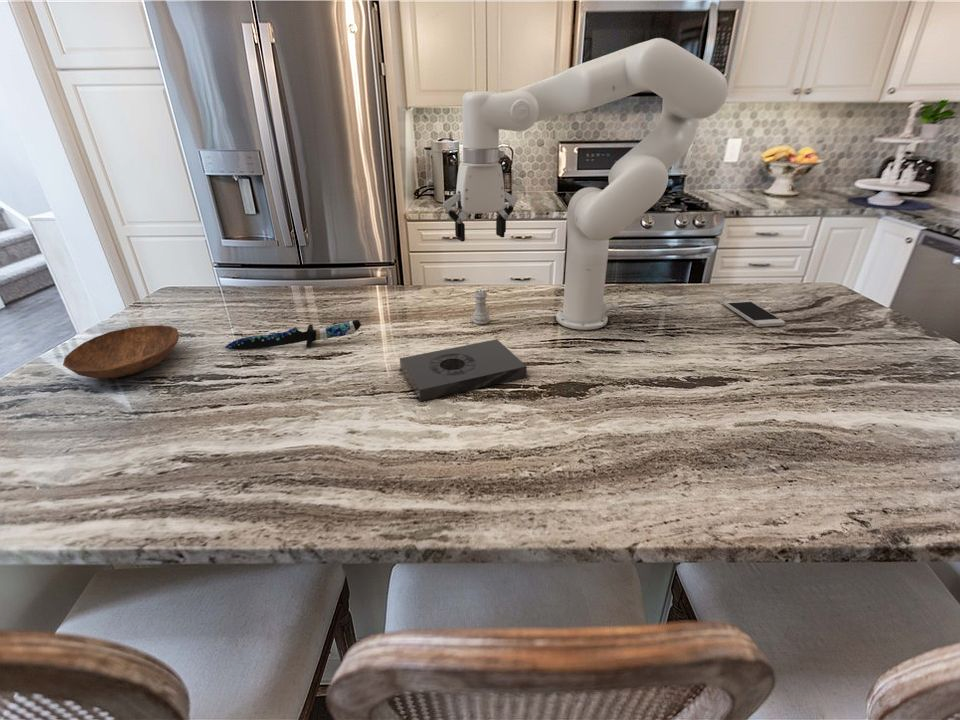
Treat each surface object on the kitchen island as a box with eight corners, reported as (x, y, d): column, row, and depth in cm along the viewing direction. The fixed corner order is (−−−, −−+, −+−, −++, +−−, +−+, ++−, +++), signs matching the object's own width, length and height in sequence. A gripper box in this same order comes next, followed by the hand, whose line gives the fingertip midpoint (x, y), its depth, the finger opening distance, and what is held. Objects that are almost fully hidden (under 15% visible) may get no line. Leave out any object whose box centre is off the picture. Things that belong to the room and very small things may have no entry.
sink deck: (497, 349, 110) (497, 339, 109) (526, 377, 99) (526, 366, 98) (400, 368, 103) (399, 358, 102) (420, 401, 91) (419, 390, 90)
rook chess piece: (488, 325, 122) (488, 294, 119) (470, 324, 123) (469, 293, 119) (491, 318, 126) (491, 288, 122) (474, 317, 127) (473, 287, 123)
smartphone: (757, 327, 119) (758, 323, 118) (722, 304, 132) (723, 300, 132) (785, 325, 119) (786, 321, 119) (747, 302, 133) (748, 299, 133)
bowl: (198, 341, 117) (192, 321, 115) (161, 387, 98) (153, 365, 95) (106, 348, 114) (98, 328, 112) (50, 397, 95) (39, 374, 92)
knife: (364, 335, 115) (359, 317, 113) (362, 340, 112) (357, 322, 110) (234, 352, 115) (227, 335, 113) (229, 358, 113) (221, 340, 111)
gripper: (510, 154, 111) (508, 231, 119) (436, 157, 106) (439, 238, 113) (525, 157, 105) (522, 238, 113) (447, 160, 99) (450, 245, 107)
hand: (480, 238), depth 113 cm, fingers open, 9 cm apart
